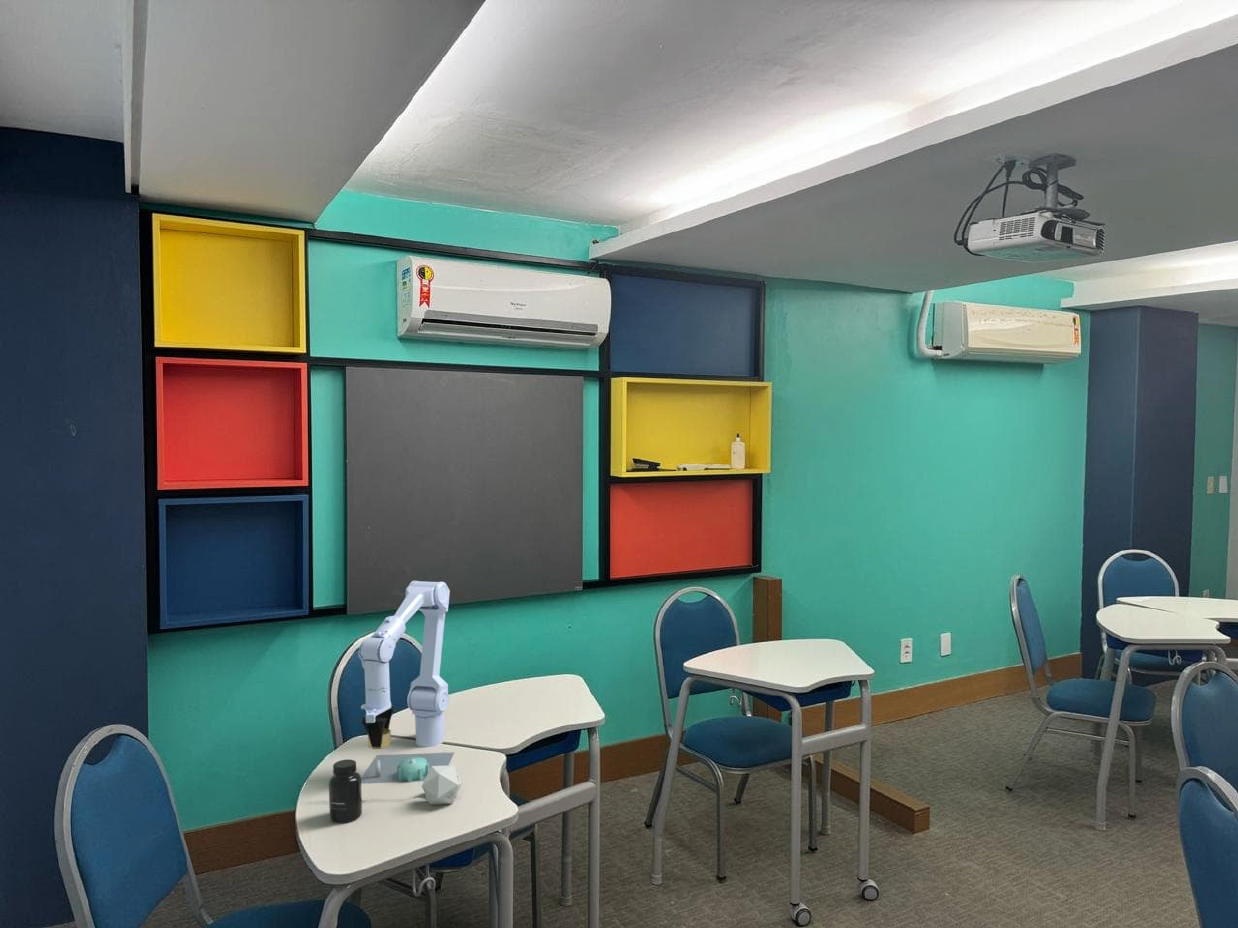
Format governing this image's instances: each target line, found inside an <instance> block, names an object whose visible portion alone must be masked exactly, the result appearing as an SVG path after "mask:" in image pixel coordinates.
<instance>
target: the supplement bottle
mask: <svg viewBox="0 0 1238 928" xmlns="http://www.w3.org/2000/svg"><path fill="white" fill-rule="evenodd" d="M356 762H357V761H355V759H342V760H341V759H340V760H338V761H335V763H333V765H332V769H333V770H332V774H333V775H331V777H330V778H329V781H328V801H329V802H328V804H329V807H328V809H329V819H330V821H332V822H334V823H337V824H345V823H346V824H347V823H351V822H353V821H356V820H358V819H359V818H360V817H361V816H362V813H363V799H362V797H363V795H362V794H363V793H362V783H361V777H362V776H361V774H360V773H358V772H357V763H356Z"/></svg>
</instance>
